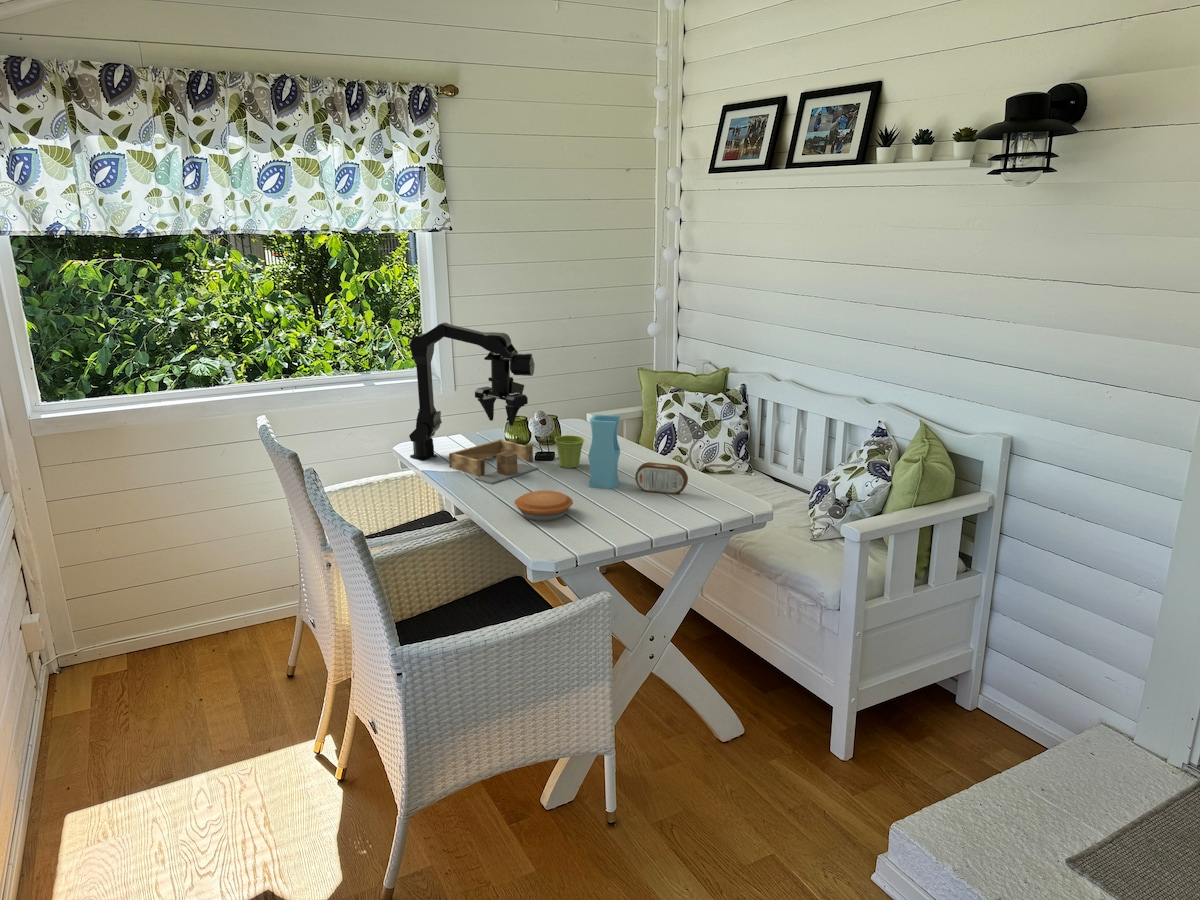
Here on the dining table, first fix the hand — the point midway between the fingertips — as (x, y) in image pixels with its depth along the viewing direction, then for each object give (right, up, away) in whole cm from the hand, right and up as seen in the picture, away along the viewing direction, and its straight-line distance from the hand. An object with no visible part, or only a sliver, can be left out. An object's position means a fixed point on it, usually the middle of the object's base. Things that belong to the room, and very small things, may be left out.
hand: (501, 423), depth 277 cm
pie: (+16, -26, -42) cm, 52 cm away
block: (+3, -15, -9) cm, 18 cm away
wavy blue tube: (+32, -19, -18) cm, 41 cm away
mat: (+3, -16, -9) cm, 19 cm away
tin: (+49, -21, -25) cm, 58 cm away
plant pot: (+22, -14, 0) cm, 25 cm away
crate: (-3, -13, +1) cm, 13 cm away
